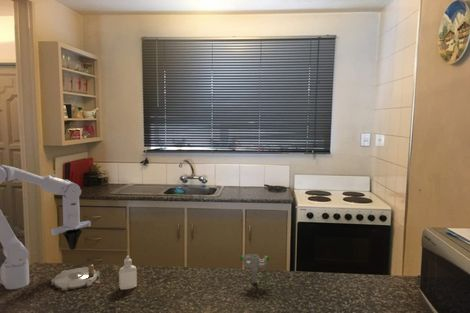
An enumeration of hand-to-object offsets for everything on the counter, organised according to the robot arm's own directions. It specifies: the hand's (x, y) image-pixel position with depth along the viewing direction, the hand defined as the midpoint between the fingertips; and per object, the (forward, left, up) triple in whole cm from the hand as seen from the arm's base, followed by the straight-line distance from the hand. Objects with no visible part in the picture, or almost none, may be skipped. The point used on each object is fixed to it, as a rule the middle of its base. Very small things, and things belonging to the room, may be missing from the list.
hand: (72, 248), depth 131 cm
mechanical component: (+60, +35, -10) cm, 70 cm away
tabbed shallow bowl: (+9, -4, -8) cm, 13 cm away
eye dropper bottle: (+28, +4, -10) cm, 30 cm away
